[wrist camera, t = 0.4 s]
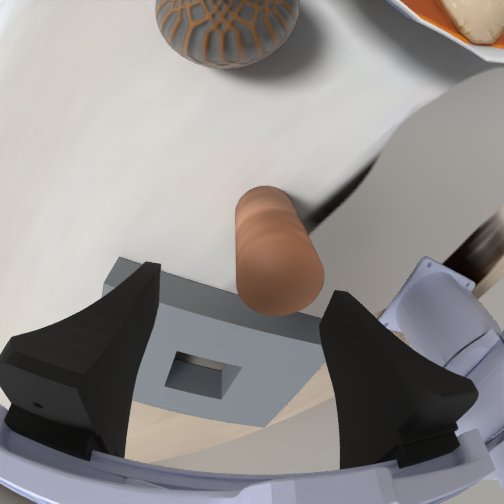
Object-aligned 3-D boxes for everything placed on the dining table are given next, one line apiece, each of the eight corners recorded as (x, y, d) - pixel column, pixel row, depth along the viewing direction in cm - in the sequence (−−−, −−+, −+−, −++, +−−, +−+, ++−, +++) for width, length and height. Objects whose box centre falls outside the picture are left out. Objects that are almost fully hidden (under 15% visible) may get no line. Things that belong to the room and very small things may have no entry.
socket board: (326, 319, 26) (336, 348, 22) (262, 402, 32) (264, 427, 29) (119, 256, 21) (103, 283, 18) (105, 363, 27) (97, 388, 24)
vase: (206, 93, 16) (182, 90, 9) (152, 12, 13) (97, -36, 5) (305, 44, 15) (360, 11, 7) (251, -36, 12) (263, -109, 4)
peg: (303, 198, 20) (340, 259, 13) (279, 247, 22) (299, 323, 15) (248, 177, 19) (257, 229, 12) (226, 229, 21) (223, 303, 14)
